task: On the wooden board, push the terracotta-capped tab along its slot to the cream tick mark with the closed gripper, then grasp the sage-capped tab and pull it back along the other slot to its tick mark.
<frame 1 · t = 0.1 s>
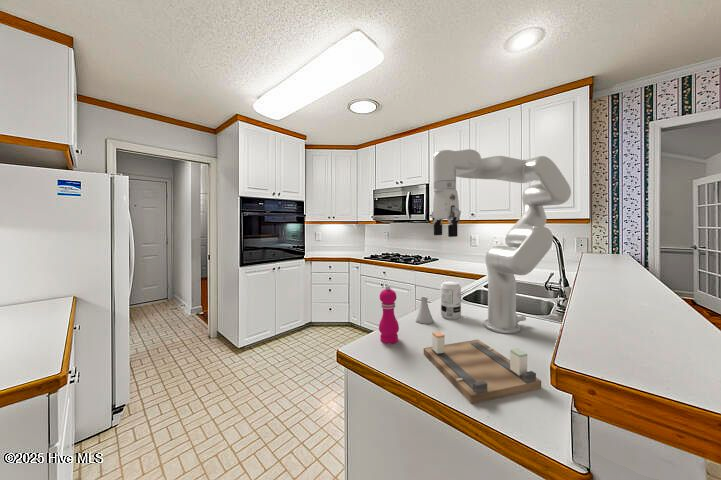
hand: (445, 235, 96), 37 cm above the counter, tool pointing down, fingers open, 9 cm apart
supplement can: (450, 317, 117), on the counter
wooden board: (475, 369, 77), on the counter
flask: (424, 321, 113), on the counter
sage-capped tab: (518, 361, 70), point 5 cm above the counter, slide at 16.0 cm
pepper mill: (389, 340, 97), on the counter
terracotta-capped tab: (438, 342, 82), point 5 cm above the counter, slide at 0.0 cm
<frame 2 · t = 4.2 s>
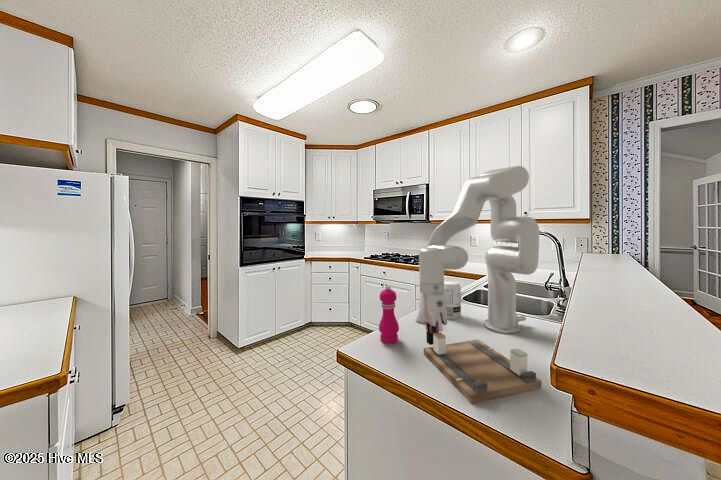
hand: (432, 343, 86), 3 cm above the counter, tool pointing down, fingers closed
terracotta-capped tab: (439, 343, 82), point 5 cm above the counter, slide at 0.6 cm, touching gripper
everything else where it was.
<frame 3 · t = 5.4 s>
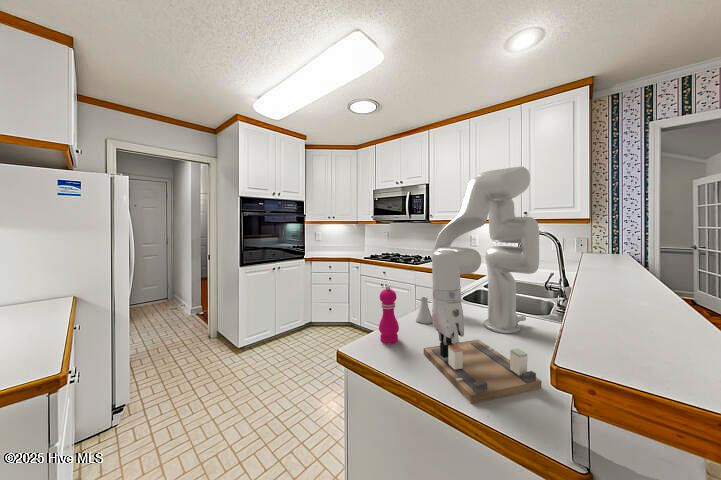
hand: (446, 355, 78), 3 cm above the counter, tool pointing down, fingers closed
terracotta-capped tab: (455, 356, 74), point 5 cm above the counter, slide at 9.0 cm, touching gripper
everything else where it was.
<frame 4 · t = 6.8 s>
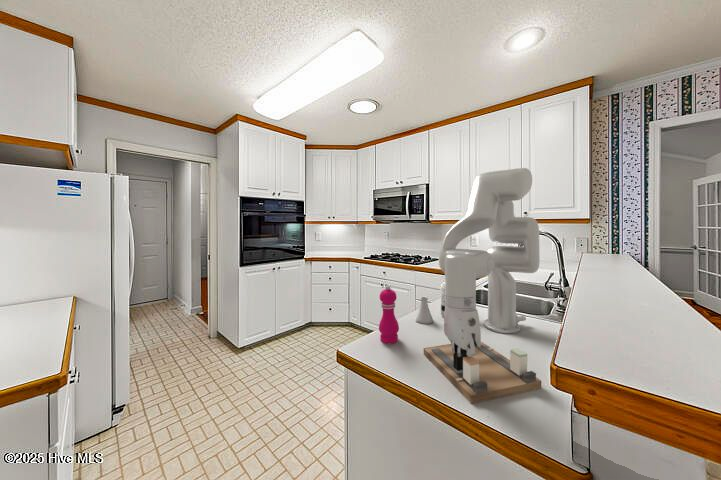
hand: (460, 368, 71), 3 cm above the counter, tool pointing down, fingers closed
terracotta-capped tab: (470, 369, 67), point 5 cm above the counter, slide at 15.7 cm, touching gripper
everything else where it was.
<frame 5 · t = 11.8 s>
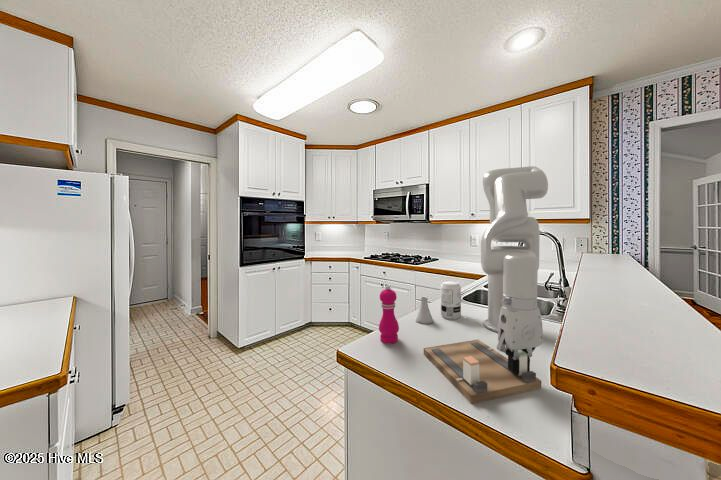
hand: (518, 370, 70), 3 cm above the counter, tool pointing down, fingers closed on sage-capped tab, 2 cm apart
sage-capped tab: (518, 361, 70), point 5 cm above the counter, slide at 16.0 cm, touching gripper
terracotta-capped tab: (471, 370, 67), point 5 cm above the counter, slide at 15.8 cm
everything else where it was.
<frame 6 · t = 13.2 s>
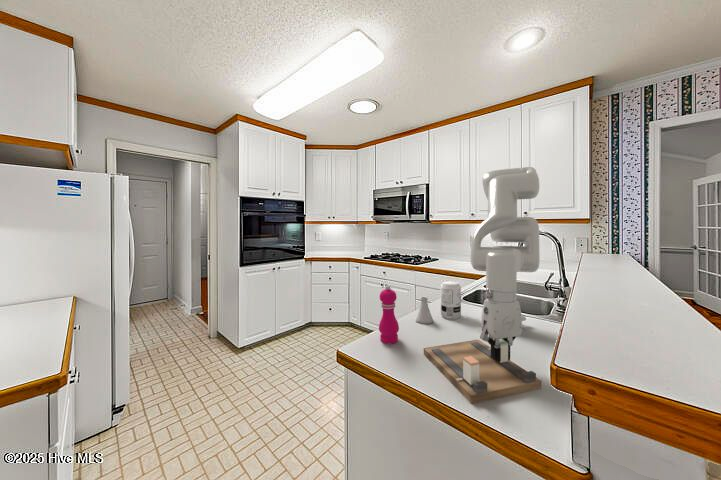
hand: (500, 358, 76), 3 cm above the counter, tool pointing down, fingers closed on sage-capped tab, 2 cm apart
sage-capped tab: (500, 350, 76), point 5 cm above the counter, slide at 9.6 cm, touching gripper
everything else where it was.
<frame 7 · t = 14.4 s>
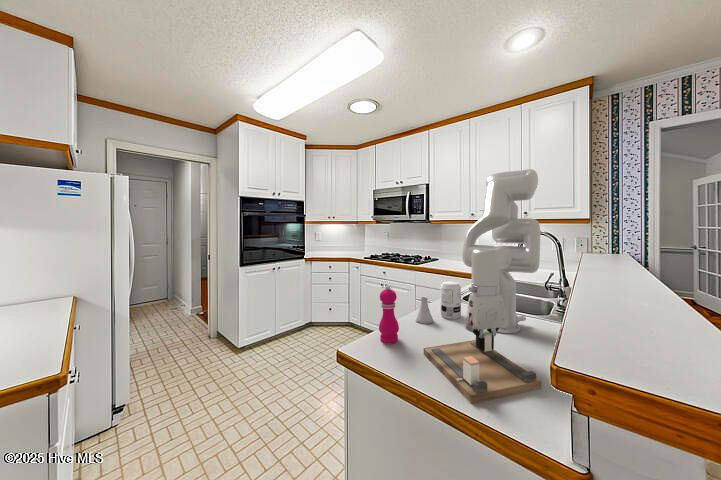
hand: (484, 347, 83), 3 cm above the counter, tool pointing down, fingers closed on sage-capped tab, 2 cm apart
sage-capped tab: (484, 340, 83), point 5 cm above the counter, slide at 3.1 cm, touching gripper
everything else where it was.
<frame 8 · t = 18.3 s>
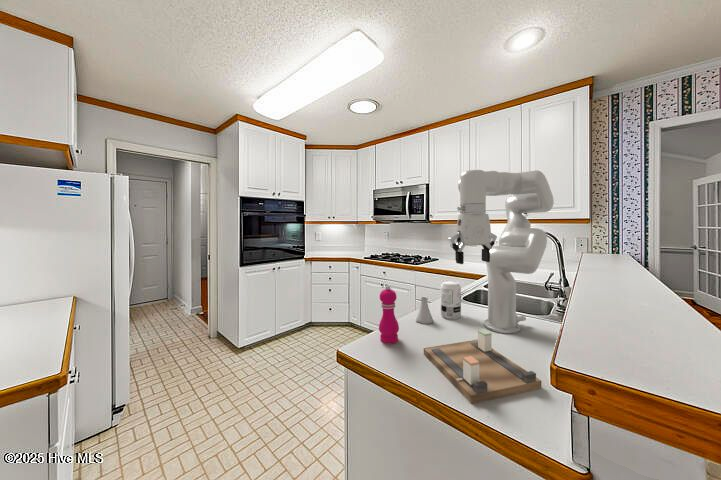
hand: (472, 262, 88), 28 cm above the counter, tool pointing down, fingers open, 9 cm apart
sage-capped tab: (484, 340, 83), point 5 cm above the counter, slide at 3.0 cm
everything else where it was.
at the end: terracotta-capped tab slide at 15.8 cm; sage-capped tab slide at 3.0 cm; the gripper is holding nothing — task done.
